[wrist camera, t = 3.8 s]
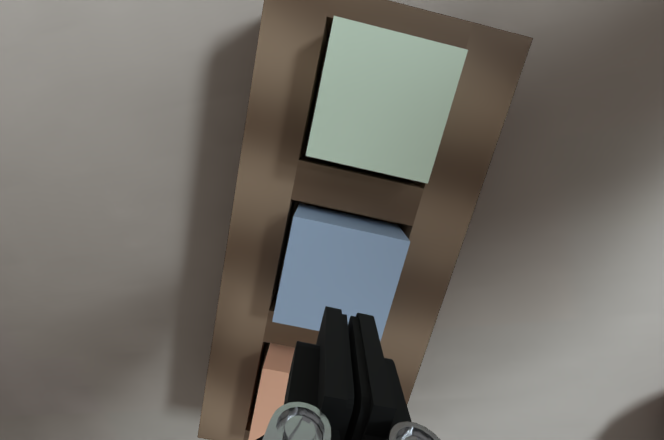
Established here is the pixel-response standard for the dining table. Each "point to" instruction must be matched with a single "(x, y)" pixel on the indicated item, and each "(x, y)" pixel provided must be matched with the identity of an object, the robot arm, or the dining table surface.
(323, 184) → the key panel
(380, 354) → the robot arm
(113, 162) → the dining table surface
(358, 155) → the sage key
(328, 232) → the slate key
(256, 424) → the terracotta key
